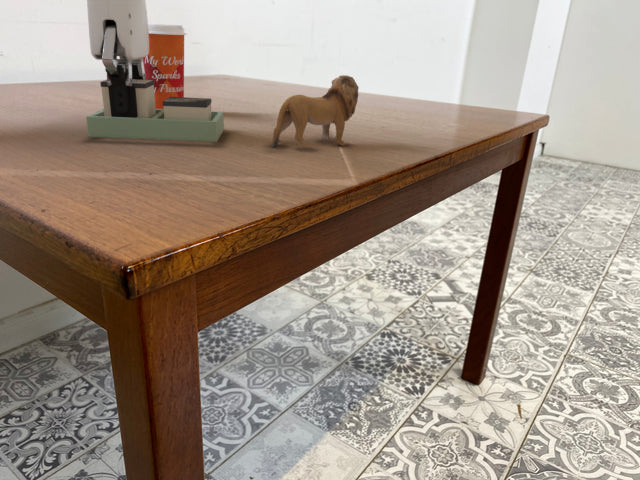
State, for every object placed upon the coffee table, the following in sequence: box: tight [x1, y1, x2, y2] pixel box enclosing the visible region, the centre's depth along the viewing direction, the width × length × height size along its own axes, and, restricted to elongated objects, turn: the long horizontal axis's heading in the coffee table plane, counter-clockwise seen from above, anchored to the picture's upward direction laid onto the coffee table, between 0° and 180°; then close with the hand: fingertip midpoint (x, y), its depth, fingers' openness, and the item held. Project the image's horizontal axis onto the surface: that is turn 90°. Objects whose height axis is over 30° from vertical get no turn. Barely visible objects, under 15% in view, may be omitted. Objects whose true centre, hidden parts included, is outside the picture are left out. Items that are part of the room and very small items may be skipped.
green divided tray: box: [85, 108, 225, 143], centre depth 70 cm, size 8×16×3 cm, turn 93°
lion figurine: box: [271, 74, 360, 148], centre depth 69 cm, size 15×5×9 cm, turn 134°
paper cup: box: [143, 23, 188, 109], centre depth 84 cm, size 8×8×14 cm
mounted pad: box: [163, 96, 212, 121], centre depth 70 cm, size 6×4×4 cm
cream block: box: [99, 79, 156, 118], centre depth 69 cm, size 6×4×4 cm
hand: (130, 113), depth 69 cm, fingers closed on cream block, 4 cm apart
